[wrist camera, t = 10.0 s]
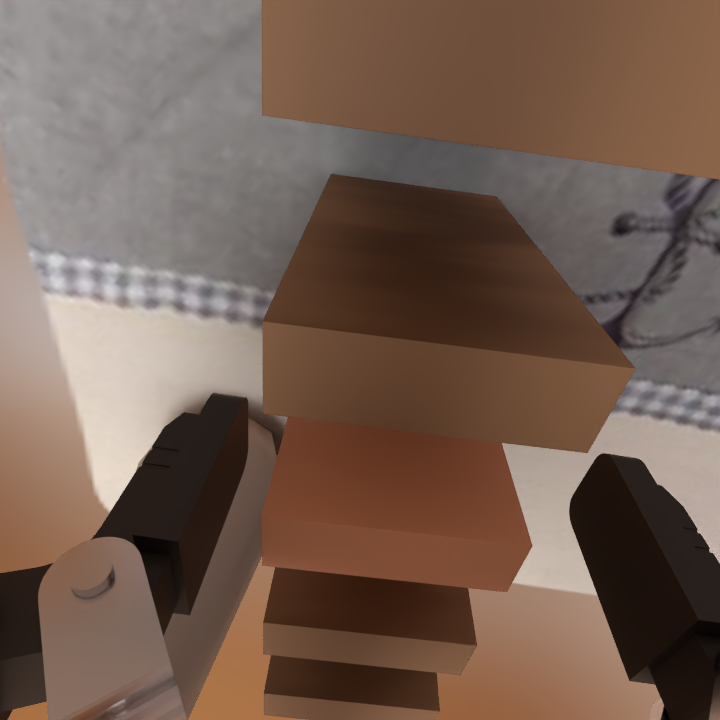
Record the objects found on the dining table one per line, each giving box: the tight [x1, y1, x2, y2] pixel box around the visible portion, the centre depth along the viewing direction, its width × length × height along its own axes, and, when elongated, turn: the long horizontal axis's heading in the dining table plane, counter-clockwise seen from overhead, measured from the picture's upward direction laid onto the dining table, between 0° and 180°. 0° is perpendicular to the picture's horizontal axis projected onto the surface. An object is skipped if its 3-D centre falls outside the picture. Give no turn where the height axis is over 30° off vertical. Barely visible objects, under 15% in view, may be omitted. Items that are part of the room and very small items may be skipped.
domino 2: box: [263, 174, 635, 453], centre depth 10 cm, size 5×2×9 cm, turn 83°
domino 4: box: [263, 567, 477, 675], centre depth 15 cm, size 5×2×9 cm, turn 83°
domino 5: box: [264, 655, 440, 720], centre depth 17 cm, size 5×2×9 cm, turn 83°
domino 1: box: [262, 0, 720, 179], centre depth 8 cm, size 5×2×9 cm, turn 83°
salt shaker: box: [136, 414, 277, 720], centre depth 14 cm, size 6×6×13 cm
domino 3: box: [261, 417, 532, 592], centre depth 12 cm, size 5×2×9 cm, turn 84°
